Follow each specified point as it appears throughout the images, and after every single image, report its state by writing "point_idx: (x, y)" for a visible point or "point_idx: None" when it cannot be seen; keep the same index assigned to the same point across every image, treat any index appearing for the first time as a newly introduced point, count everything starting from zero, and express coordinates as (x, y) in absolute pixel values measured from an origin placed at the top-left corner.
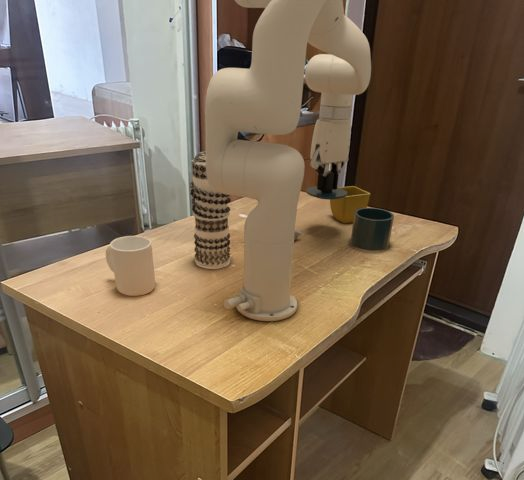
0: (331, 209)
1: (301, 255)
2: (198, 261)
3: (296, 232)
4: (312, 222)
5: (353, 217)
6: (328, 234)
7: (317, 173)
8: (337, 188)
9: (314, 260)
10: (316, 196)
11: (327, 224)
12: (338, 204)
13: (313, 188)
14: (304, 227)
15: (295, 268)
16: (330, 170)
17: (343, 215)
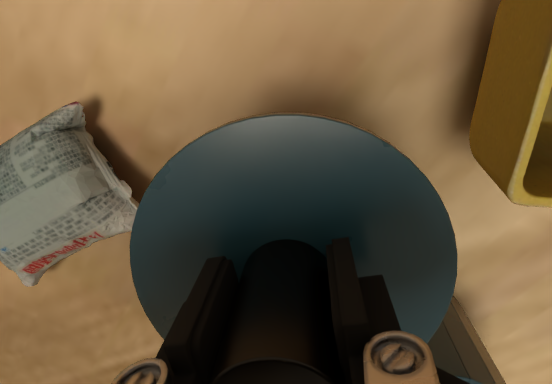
0: (501, 2)
1: (122, 298)
2: None
3: (122, 232)
4: (349, 11)
5: (534, 145)
6: None
7: (127, 381)
8: (431, 247)
9: (146, 341)
10: (158, 325)
11: (403, 73)
12: (497, 100)
13: (227, 173)
14: (268, 64)
15: (71, 356)
16: (366, 350)
17: (470, 145)
